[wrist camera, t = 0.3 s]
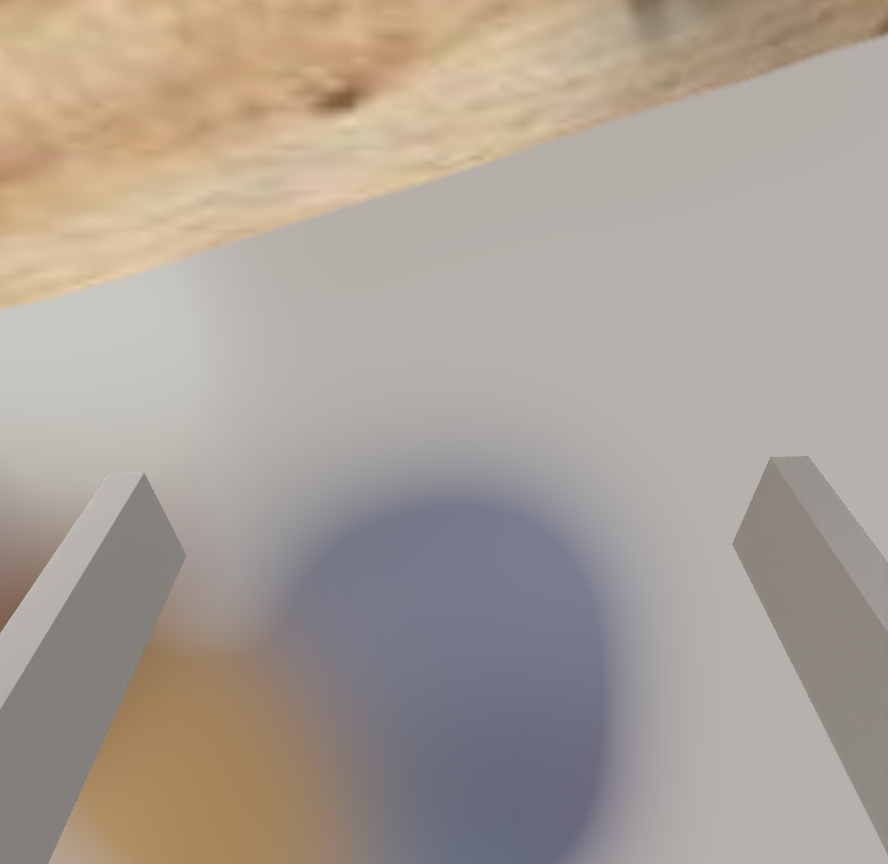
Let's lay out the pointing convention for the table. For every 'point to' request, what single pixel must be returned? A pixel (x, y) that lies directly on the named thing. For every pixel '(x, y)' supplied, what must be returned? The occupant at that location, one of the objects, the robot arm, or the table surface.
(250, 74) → the table surface
